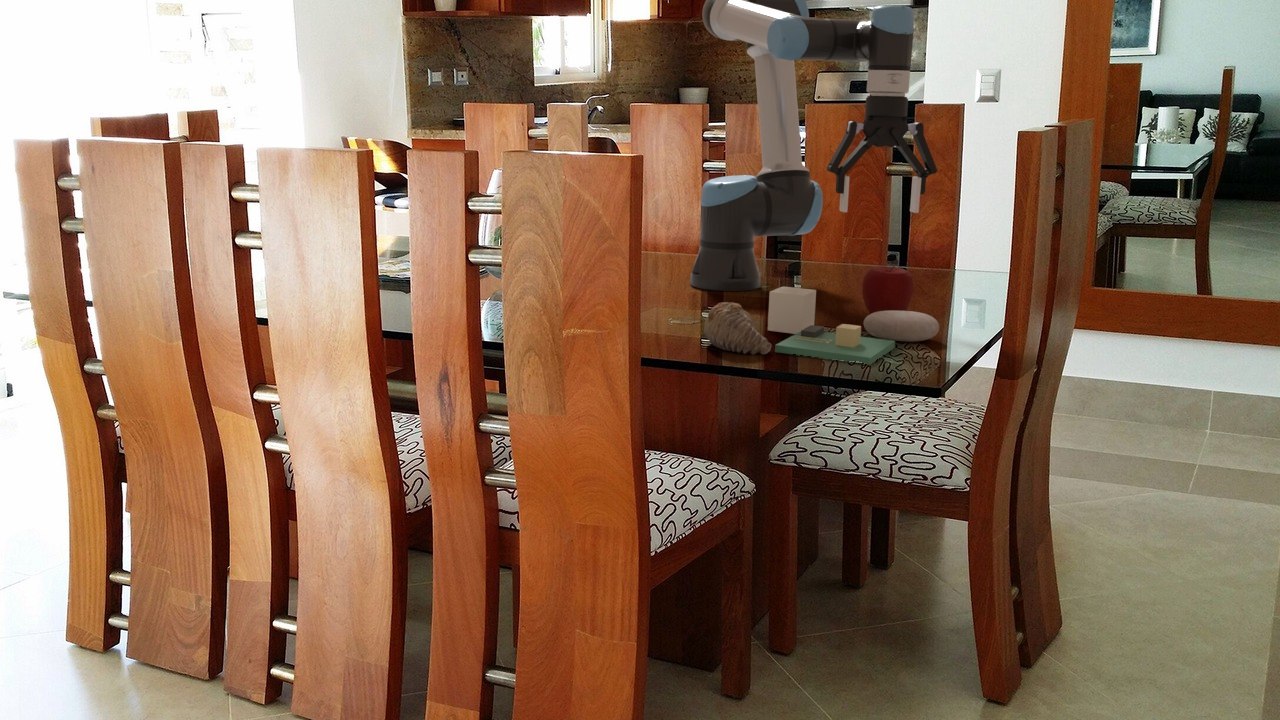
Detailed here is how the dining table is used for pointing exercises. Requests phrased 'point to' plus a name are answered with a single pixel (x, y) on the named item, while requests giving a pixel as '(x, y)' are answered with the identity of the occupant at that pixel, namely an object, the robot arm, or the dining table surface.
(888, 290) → the apple
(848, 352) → the board
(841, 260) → the dining table surface
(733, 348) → the seashell
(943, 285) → the dining table surface
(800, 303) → the plug
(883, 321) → the decorative stone
